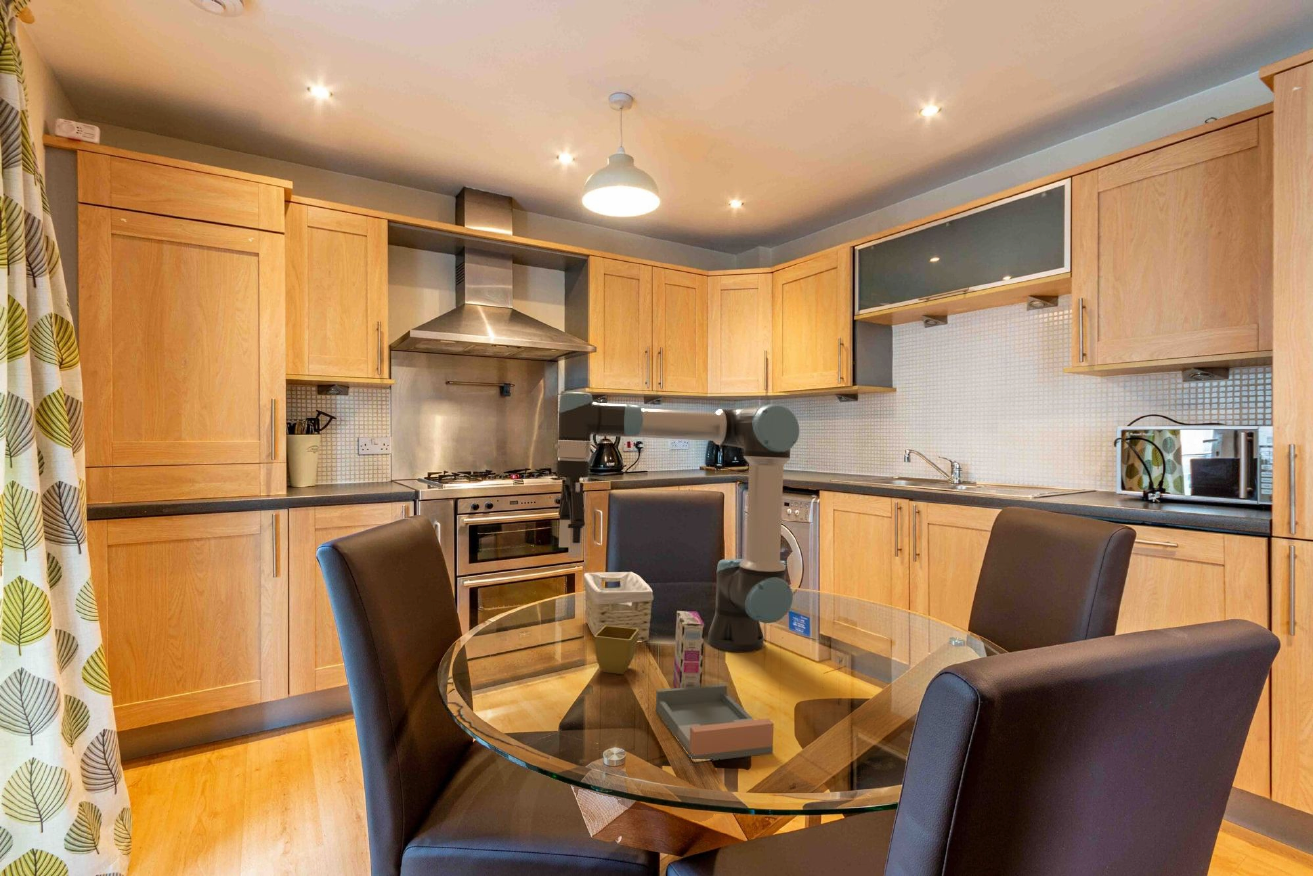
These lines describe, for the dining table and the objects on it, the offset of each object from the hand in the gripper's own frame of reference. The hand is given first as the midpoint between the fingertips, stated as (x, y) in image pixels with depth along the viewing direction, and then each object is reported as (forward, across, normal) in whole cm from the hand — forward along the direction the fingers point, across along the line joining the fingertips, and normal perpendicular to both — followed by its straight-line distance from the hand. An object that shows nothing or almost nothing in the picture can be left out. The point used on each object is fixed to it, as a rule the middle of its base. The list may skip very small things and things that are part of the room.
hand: (569, 552), depth 144 cm
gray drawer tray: (+28, +34, +22) cm, 49 cm away
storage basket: (+28, -29, +19) cm, 45 cm away
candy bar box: (+28, +16, +24) cm, 40 cm away
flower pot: (+28, 0, +12) cm, 31 cm away
